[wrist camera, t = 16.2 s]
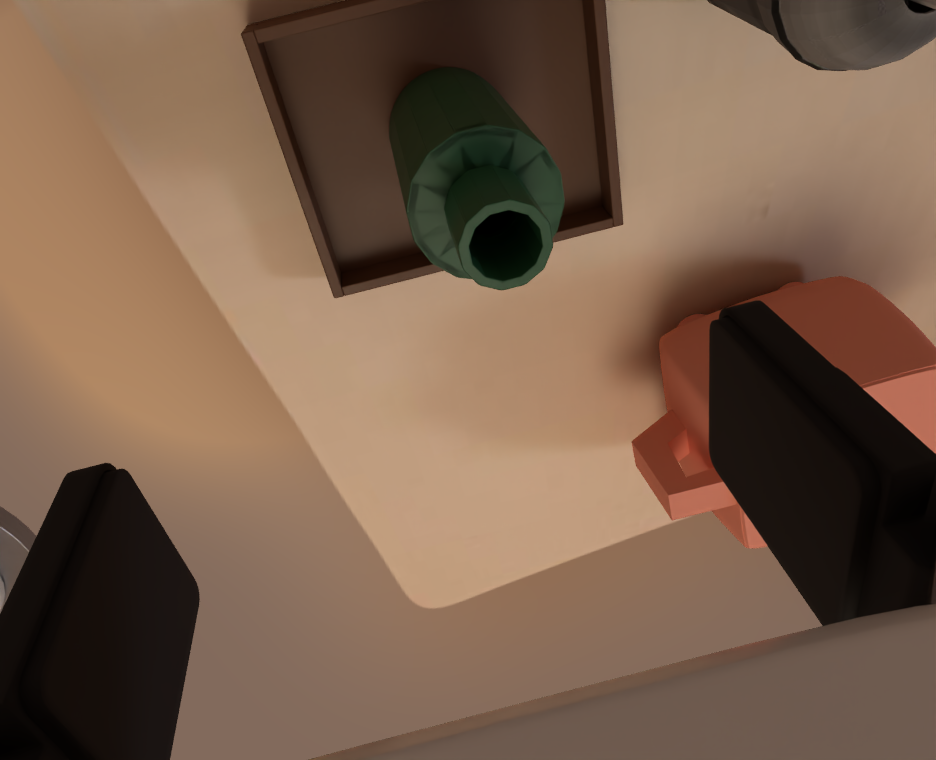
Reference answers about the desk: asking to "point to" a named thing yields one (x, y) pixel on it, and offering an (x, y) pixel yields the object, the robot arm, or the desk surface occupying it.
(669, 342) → the teapot
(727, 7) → the beverage cup
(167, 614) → the robot arm
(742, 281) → the desk surface
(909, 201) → the desk surface
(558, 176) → the bottle
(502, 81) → the tray
